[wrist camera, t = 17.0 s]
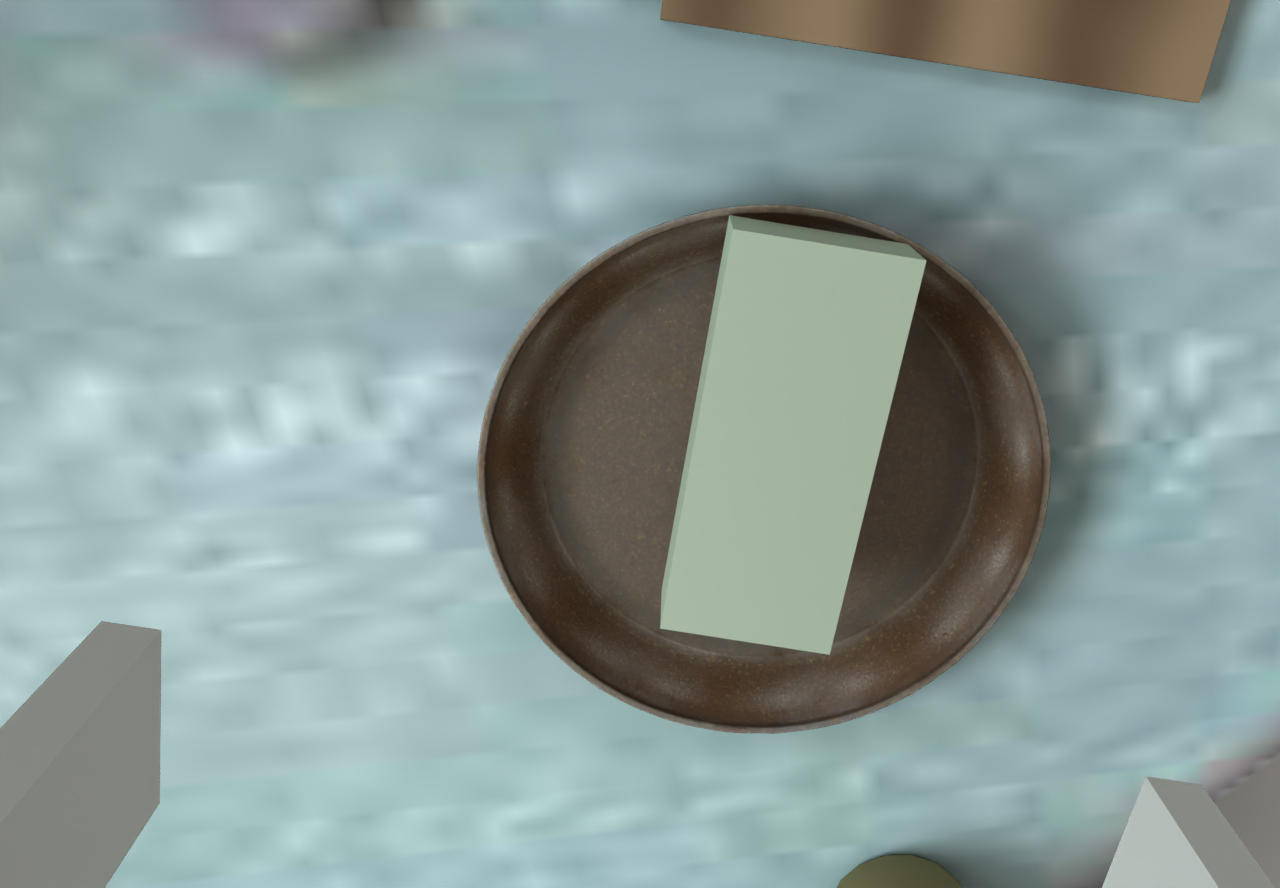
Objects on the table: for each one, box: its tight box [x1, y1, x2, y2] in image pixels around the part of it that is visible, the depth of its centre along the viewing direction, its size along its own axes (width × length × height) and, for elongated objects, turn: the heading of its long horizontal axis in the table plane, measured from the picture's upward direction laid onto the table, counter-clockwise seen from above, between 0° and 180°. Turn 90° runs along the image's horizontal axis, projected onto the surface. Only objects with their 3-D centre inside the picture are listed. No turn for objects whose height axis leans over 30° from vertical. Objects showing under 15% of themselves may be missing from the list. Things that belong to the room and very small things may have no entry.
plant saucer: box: [477, 205, 1051, 734], centre depth 41 cm, size 21×21×3 cm
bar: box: [660, 215, 926, 655], centre depth 37 cm, size 6×14×3 cm, turn 171°
